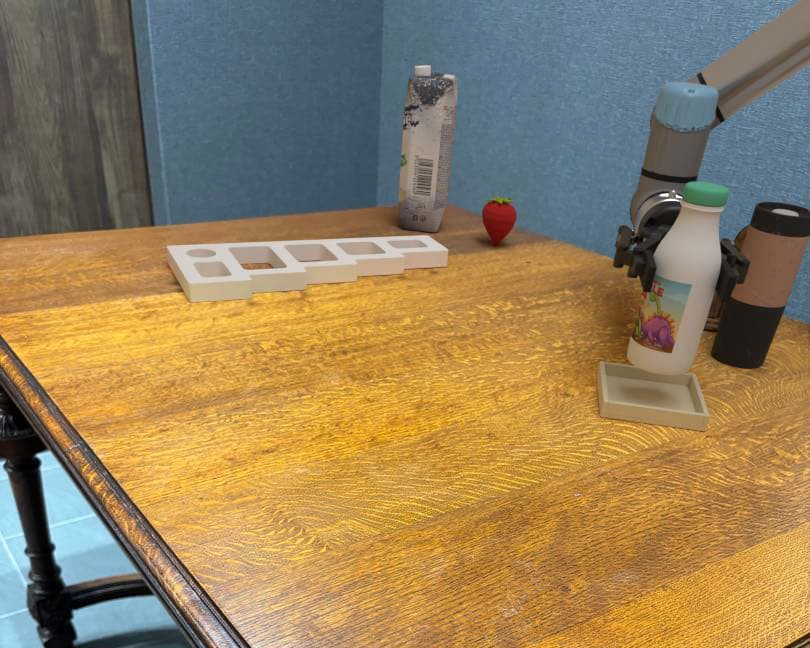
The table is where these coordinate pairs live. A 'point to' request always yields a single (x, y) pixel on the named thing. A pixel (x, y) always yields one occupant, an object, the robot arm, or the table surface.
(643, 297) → the milk bottle
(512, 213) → the strawberry
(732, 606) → the table surface
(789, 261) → the travel mug
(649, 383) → the cream tray
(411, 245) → the holder
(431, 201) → the juice carton
